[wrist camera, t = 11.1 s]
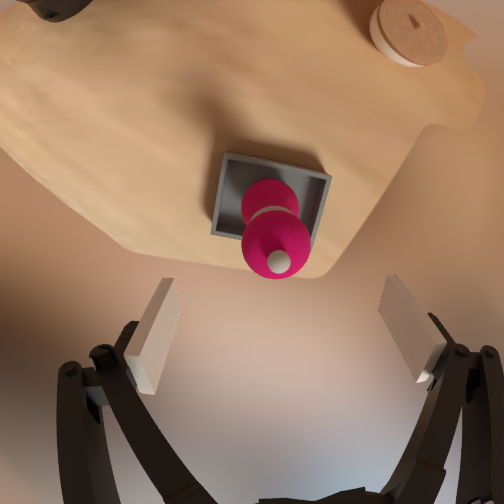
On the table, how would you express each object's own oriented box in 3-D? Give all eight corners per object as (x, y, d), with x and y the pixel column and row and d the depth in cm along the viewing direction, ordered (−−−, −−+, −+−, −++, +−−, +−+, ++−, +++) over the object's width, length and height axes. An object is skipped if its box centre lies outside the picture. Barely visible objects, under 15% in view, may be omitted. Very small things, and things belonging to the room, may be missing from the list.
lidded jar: (345, 34, 29) (367, 12, 20) (383, 1, 25) (409, -21, 17) (398, 85, 32) (432, 78, 23) (431, 49, 28) (465, 39, 20)
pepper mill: (271, 163, 37) (286, 199, 19) (304, 202, 39) (345, 270, 21) (231, 197, 39) (209, 263, 21) (266, 233, 41) (273, 322, 23)
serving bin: (214, 225, 41) (210, 234, 38) (226, 151, 37) (223, 153, 34) (306, 243, 42) (310, 253, 39) (325, 172, 38) (332, 176, 35)
